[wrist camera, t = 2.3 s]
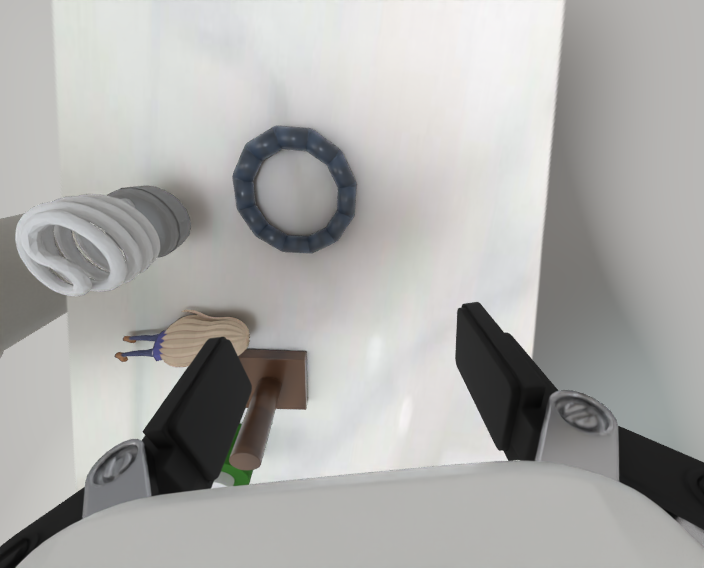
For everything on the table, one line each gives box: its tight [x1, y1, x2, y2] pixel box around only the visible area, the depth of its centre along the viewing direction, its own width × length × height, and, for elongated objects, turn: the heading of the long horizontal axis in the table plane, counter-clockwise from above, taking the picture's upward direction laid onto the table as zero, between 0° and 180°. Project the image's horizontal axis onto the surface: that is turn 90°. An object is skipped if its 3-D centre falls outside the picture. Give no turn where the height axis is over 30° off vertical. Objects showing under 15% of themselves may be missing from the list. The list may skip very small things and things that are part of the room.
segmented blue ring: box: [233, 126, 357, 253], centre depth 23 cm, size 10×10×2 cm
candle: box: [211, 424, 253, 489], centre depth 36 cm, size 8×8×10 cm
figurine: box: [115, 310, 250, 367], centre depth 29 cm, size 6×4×15 cm
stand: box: [229, 349, 308, 470], centre depth 30 cm, size 9×9×10 cm
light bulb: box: [15, 186, 191, 296], centre depth 19 cm, size 6×6×12 cm
